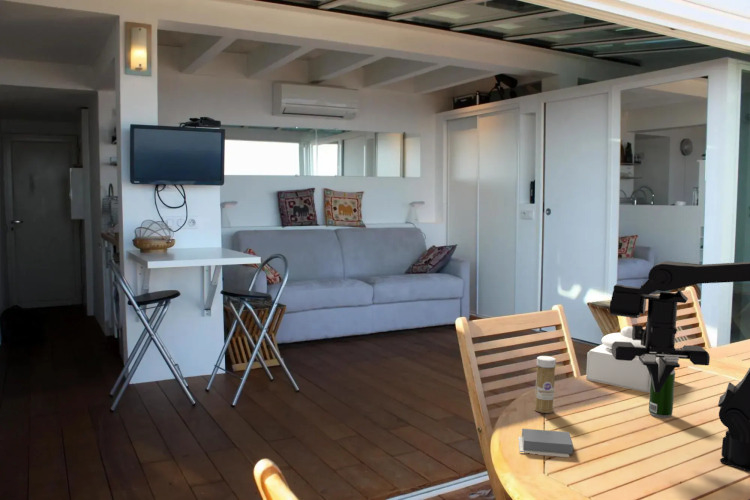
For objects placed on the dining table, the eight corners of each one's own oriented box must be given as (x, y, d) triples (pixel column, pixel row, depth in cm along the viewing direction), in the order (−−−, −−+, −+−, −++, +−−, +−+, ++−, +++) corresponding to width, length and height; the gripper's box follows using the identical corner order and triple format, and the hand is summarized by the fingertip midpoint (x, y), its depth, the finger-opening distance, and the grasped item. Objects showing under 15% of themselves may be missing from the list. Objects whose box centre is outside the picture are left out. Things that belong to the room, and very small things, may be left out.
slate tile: (569, 432, 147) (522, 428, 149) (573, 444, 140) (523, 440, 142) (568, 441, 147) (521, 437, 149) (572, 454, 140) (523, 450, 142)
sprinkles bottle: (540, 414, 165) (543, 360, 164) (530, 408, 169) (533, 355, 168) (557, 412, 166) (559, 359, 165) (547, 406, 171) (549, 354, 169)
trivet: (564, 442, 148) (564, 440, 148) (568, 457, 140) (569, 455, 140) (518, 438, 150) (518, 436, 150) (519, 453, 142) (519, 450, 142)
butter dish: (608, 367, 208) (611, 316, 206) (669, 379, 197) (673, 325, 195) (585, 380, 194) (588, 325, 193) (650, 393, 183) (653, 336, 181)
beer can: (663, 420, 163) (666, 371, 162) (643, 413, 167) (647, 365, 166) (676, 416, 166) (680, 368, 164) (657, 409, 170) (660, 362, 169)
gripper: (696, 315, 150) (691, 383, 152) (609, 311, 153) (605, 378, 155) (713, 326, 139) (707, 400, 141) (618, 321, 142) (613, 393, 144)
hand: (656, 392), depth 146 cm, fingers closed
